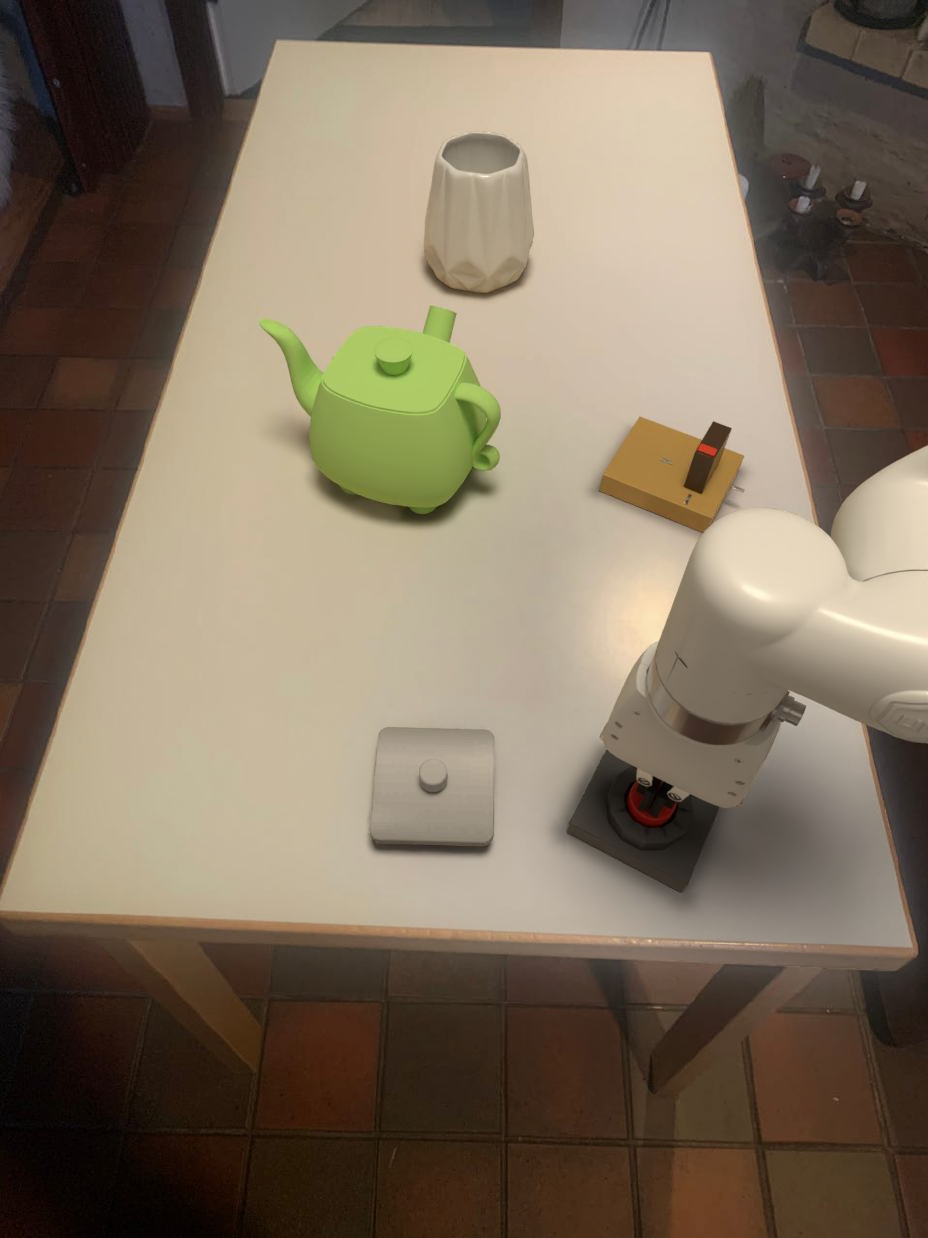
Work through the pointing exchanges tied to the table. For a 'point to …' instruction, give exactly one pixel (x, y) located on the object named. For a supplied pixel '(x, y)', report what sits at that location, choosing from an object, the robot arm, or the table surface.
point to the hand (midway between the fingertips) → (654, 797)
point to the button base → (641, 826)
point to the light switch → (433, 787)
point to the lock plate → (667, 475)
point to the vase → (479, 212)
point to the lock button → (645, 817)
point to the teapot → (395, 412)
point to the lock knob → (707, 457)
